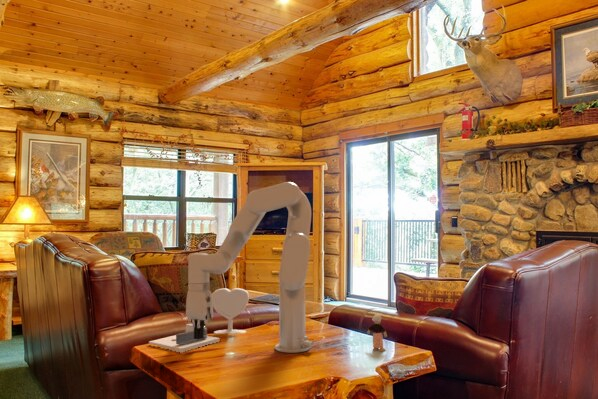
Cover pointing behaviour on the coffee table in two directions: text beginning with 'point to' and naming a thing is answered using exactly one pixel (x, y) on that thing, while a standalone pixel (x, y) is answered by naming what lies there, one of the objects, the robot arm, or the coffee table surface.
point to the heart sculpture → (230, 305)
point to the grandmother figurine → (377, 333)
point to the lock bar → (188, 337)
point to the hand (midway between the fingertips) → (198, 338)
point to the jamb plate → (171, 343)
